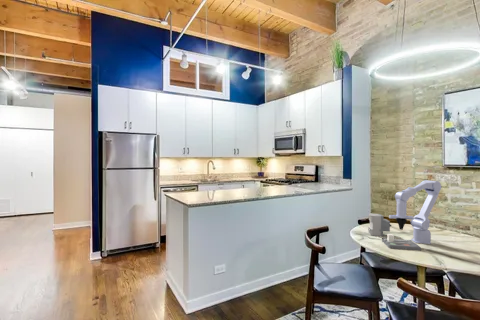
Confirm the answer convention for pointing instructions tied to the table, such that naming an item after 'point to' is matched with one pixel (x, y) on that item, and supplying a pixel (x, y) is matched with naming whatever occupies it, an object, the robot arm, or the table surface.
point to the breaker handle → (390, 237)
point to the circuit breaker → (378, 225)
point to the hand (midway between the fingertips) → (401, 229)
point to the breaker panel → (401, 244)
